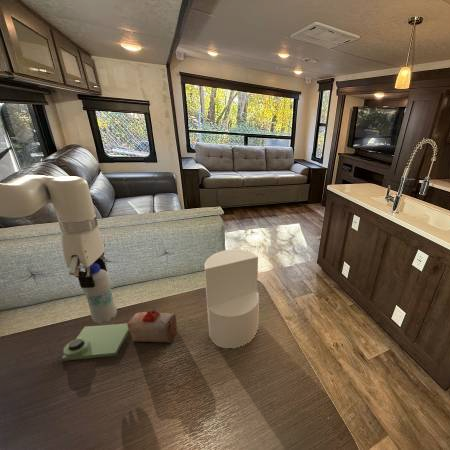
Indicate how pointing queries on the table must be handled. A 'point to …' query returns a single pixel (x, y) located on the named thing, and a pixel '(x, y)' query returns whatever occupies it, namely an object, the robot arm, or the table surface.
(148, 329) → the food item
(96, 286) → the bottle
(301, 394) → the table surface
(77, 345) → the tare button
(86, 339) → the scale
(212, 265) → the cylinder
